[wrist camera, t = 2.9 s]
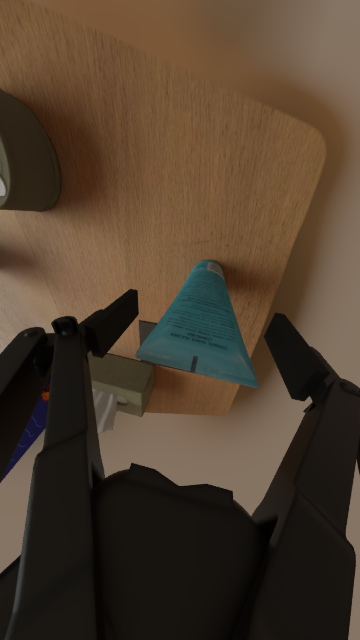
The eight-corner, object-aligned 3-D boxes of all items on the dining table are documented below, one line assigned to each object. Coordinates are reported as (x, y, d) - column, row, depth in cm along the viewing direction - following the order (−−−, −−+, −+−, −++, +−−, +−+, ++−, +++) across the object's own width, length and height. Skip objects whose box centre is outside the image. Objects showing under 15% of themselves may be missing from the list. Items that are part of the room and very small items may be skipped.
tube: (183, 287, 27) (137, 383, 11) (185, 257, 24) (130, 326, 8) (227, 292, 26) (249, 407, 10) (235, 262, 23) (280, 350, 7)
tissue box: (92, 372, 46) (42, 433, 32) (85, 347, 40) (22, 408, 27) (154, 388, 44) (128, 458, 31) (155, 364, 39) (125, 438, 26)
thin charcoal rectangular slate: (217, 334, 31) (217, 335, 30) (205, 374, 37) (205, 375, 37) (139, 320, 32) (138, 321, 32) (141, 360, 39) (141, 361, 39)
